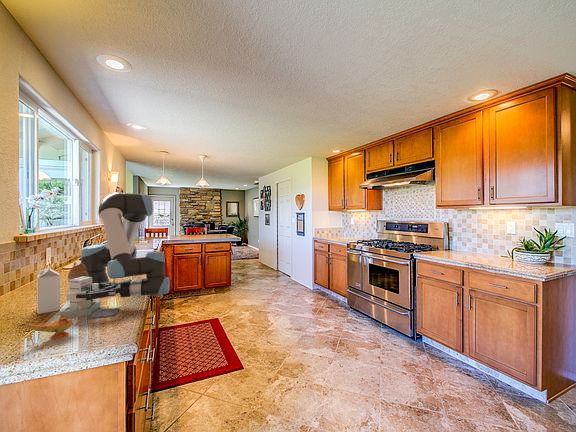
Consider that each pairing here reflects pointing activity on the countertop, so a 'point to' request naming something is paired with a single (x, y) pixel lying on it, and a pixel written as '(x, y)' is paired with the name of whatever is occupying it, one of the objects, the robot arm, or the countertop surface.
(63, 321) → the magic lamp
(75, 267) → the cat ice cream
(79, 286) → the syrup box
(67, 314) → the corral
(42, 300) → the milk carton
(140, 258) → the robot arm
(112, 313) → the coaster
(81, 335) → the countertop surface
